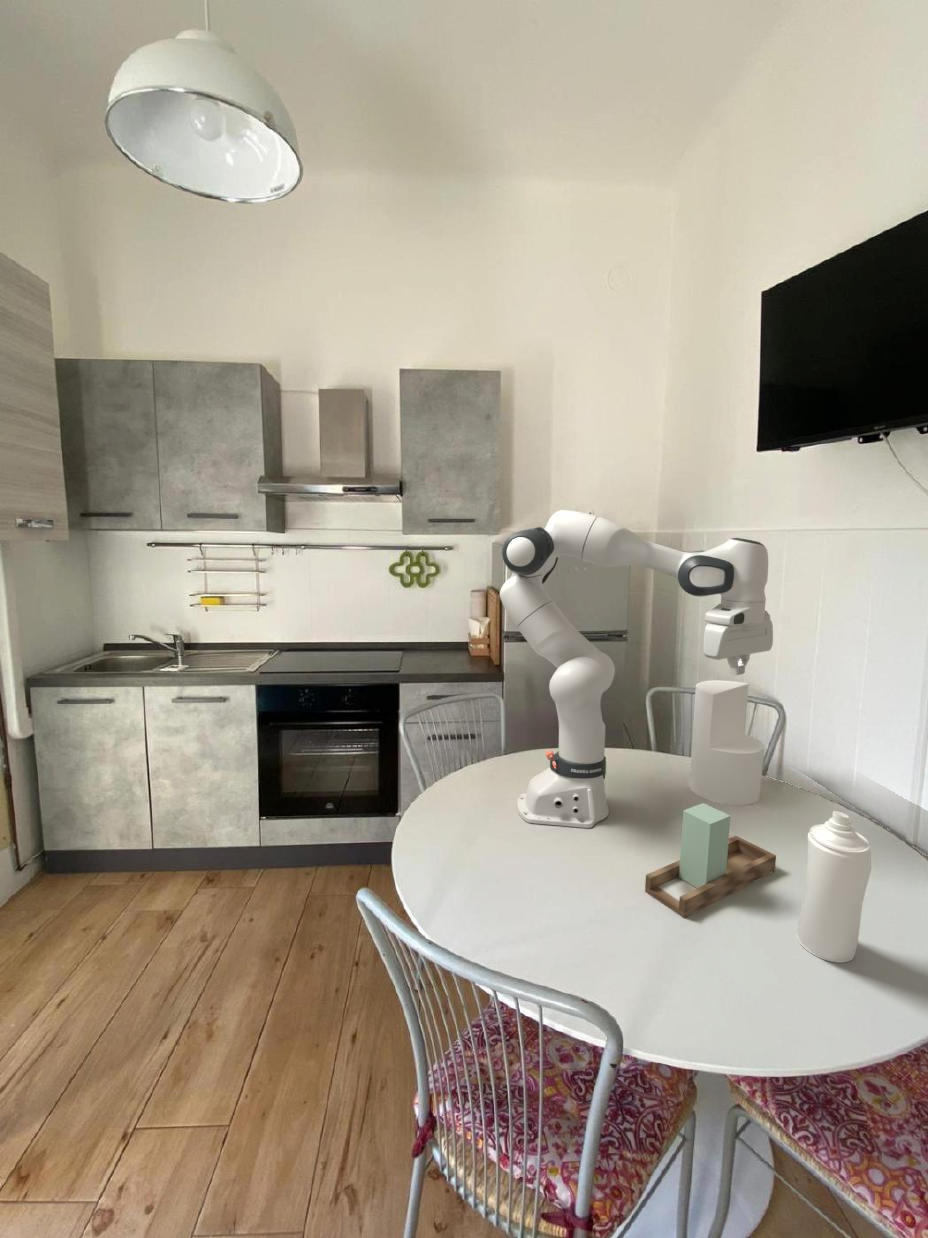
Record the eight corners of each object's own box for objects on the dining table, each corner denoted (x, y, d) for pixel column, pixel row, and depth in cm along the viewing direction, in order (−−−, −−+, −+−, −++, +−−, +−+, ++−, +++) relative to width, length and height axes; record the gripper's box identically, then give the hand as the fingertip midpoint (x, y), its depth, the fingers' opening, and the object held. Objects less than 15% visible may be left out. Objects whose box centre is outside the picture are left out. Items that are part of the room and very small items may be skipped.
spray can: (884, 970, 92) (903, 824, 88) (827, 981, 90) (844, 831, 86) (825, 922, 103) (839, 790, 100) (773, 931, 101) (786, 796, 97)
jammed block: (698, 868, 118) (703, 803, 115) (725, 883, 113) (730, 815, 110) (678, 877, 115) (683, 810, 112) (705, 893, 110) (710, 824, 107)
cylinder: (676, 787, 157) (682, 686, 153) (711, 771, 167) (718, 677, 163) (737, 812, 143) (746, 702, 139) (772, 793, 154) (781, 691, 149)
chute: (734, 850, 126) (735, 835, 126) (774, 871, 119) (776, 855, 118) (644, 891, 112) (645, 875, 112) (683, 918, 105) (685, 900, 104)
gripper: (756, 607, 135) (751, 665, 138) (699, 614, 125) (695, 676, 127) (783, 611, 130) (777, 671, 132) (726, 618, 120) (721, 683, 122)
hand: (737, 674), depth 130 cm, fingers closed
